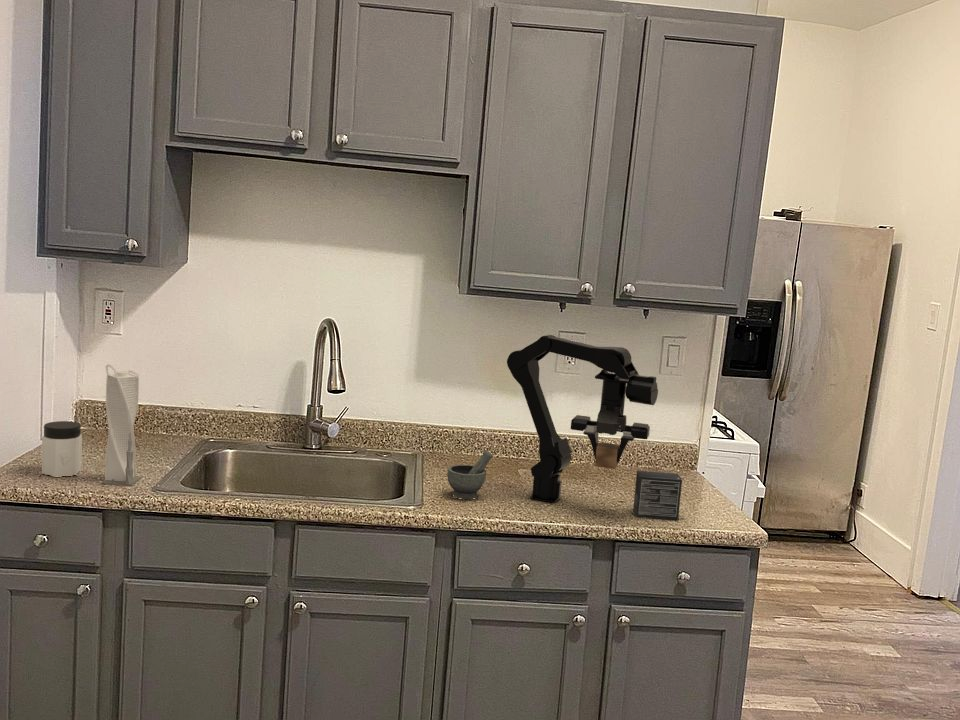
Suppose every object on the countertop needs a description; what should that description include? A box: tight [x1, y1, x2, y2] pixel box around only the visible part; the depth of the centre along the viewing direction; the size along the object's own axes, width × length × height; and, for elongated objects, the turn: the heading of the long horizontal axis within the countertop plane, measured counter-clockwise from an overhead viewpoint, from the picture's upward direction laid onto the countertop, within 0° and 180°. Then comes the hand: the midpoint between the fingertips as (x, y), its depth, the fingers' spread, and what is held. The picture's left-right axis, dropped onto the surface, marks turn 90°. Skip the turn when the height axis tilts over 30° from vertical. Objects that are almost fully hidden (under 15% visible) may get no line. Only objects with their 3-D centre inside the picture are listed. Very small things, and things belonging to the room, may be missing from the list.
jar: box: [41, 420, 83, 476], centre depth 226 cm, size 9×8×12 cm
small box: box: [632, 470, 683, 521], centre depth 232 cm, size 11×6×10 cm, turn 89°
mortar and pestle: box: [446, 449, 494, 500], centre depth 234 cm, size 11×9×12 cm
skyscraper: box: [101, 364, 143, 487], centre depth 223 cm, size 8×8×28 cm
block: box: [594, 441, 620, 470], centre depth 230 cm, size 5×5×5 cm
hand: (606, 461), depth 231 cm, fingers closed on block, 5 cm apart
